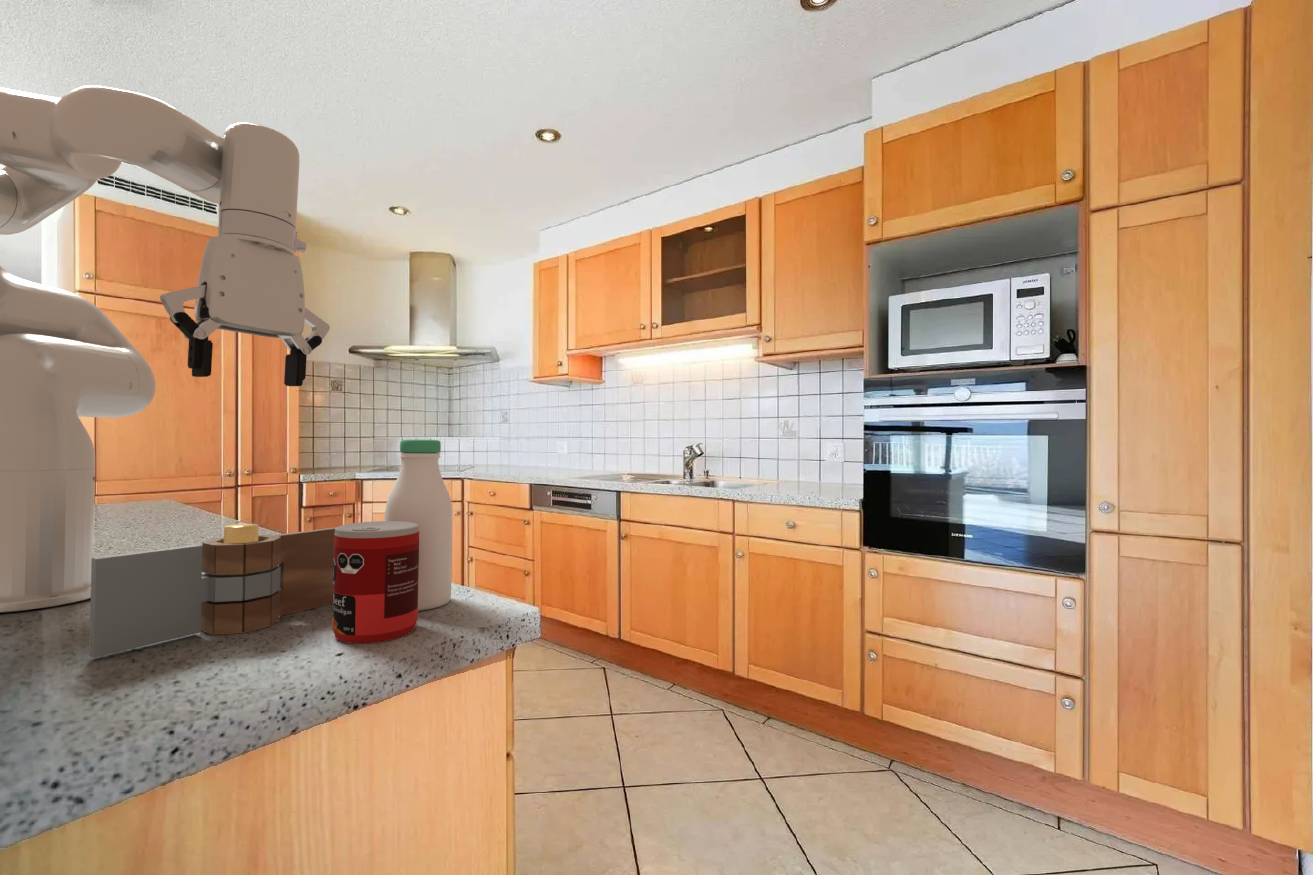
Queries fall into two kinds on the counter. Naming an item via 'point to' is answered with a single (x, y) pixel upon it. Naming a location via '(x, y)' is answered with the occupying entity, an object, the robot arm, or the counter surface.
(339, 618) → the canned food
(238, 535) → the hinge pin
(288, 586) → the hinge leaf fixed
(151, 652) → the counter surface
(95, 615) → the hinge leaf swing
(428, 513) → the milk bottle
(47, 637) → the counter surface
